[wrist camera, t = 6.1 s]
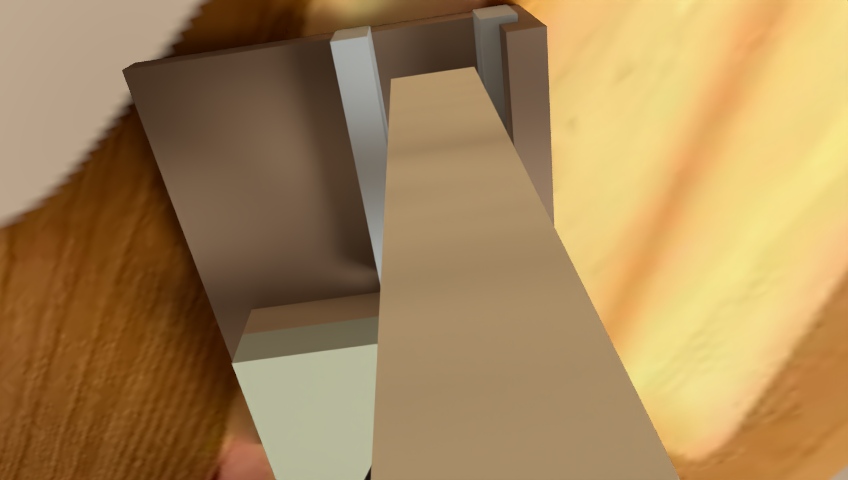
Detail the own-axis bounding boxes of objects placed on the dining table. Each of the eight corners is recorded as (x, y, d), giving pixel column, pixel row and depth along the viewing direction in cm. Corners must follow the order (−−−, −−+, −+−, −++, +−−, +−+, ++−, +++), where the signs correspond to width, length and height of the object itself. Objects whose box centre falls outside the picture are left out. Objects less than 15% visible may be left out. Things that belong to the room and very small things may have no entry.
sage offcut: (418, 473, 24) (419, 505, 23) (297, 489, 25) (291, 521, 23) (385, 315, 21) (383, 342, 19) (242, 334, 21) (231, 363, 19)
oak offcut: (417, 444, 26) (418, 473, 24) (302, 459, 26) (297, 489, 25) (385, 291, 22) (385, 315, 21) (251, 309, 22) (242, 334, 21)
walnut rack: (542, 414, 26) (564, 491, 23) (276, 448, 27) (257, 529, 23) (517, -3, 18) (546, 17, 15) (132, 56, 19) (70, 90, 15)
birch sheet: (504, 383, 15) (649, 1027, 6) (442, 392, 15) (501, 1040, 6) (473, 66, 11) (727, 578, 3) (391, 78, 11) (362, 621, 3)
